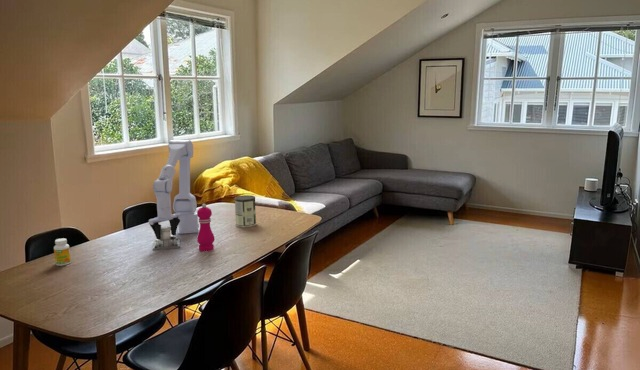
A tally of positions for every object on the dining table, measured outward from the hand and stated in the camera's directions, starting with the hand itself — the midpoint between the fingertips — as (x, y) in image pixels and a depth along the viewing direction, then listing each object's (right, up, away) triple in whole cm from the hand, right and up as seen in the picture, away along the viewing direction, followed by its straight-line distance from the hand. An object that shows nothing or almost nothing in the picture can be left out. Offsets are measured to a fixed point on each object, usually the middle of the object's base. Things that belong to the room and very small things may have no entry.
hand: (166, 237), depth 211 cm
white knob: (0, -3, +1) cm, 3 cm away
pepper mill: (+19, -5, -5) cm, 20 cm away
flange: (0, -4, +1) cm, 4 cm away
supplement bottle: (-34, -8, -21) cm, 41 cm away
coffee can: (+30, +3, +33) cm, 44 cm away
